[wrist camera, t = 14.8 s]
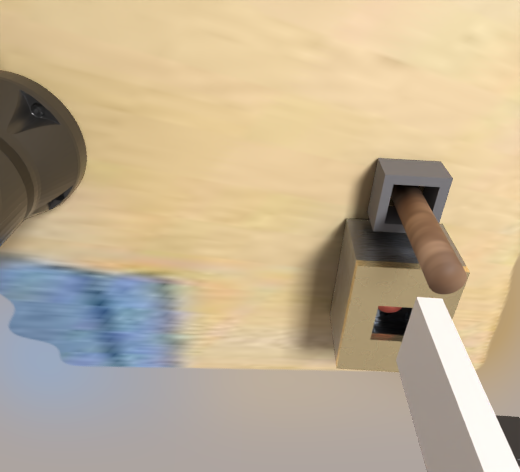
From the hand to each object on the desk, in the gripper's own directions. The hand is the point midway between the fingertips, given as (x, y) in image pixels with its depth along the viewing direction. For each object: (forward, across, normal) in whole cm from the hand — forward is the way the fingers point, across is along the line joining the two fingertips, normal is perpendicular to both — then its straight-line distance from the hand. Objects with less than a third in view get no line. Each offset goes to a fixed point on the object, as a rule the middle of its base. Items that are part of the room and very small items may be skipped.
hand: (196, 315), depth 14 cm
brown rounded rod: (+34, +17, -12) cm, 40 cm away
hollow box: (+34, +17, -24) cm, 45 cm away
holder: (+34, +17, -12) cm, 40 cm away
